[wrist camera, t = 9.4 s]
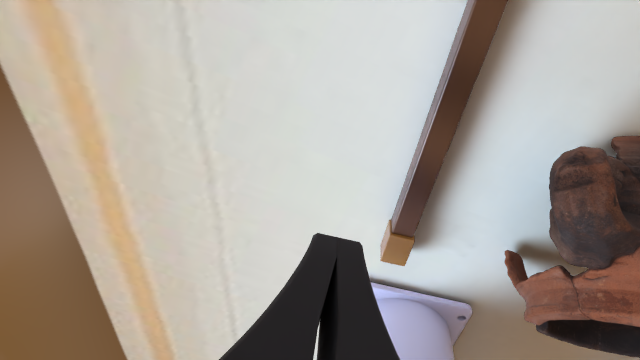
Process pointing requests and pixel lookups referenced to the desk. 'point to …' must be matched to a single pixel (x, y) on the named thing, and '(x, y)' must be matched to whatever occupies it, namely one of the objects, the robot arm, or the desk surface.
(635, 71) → the desk surface
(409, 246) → the walnut slot
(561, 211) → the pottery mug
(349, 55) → the desk surface
